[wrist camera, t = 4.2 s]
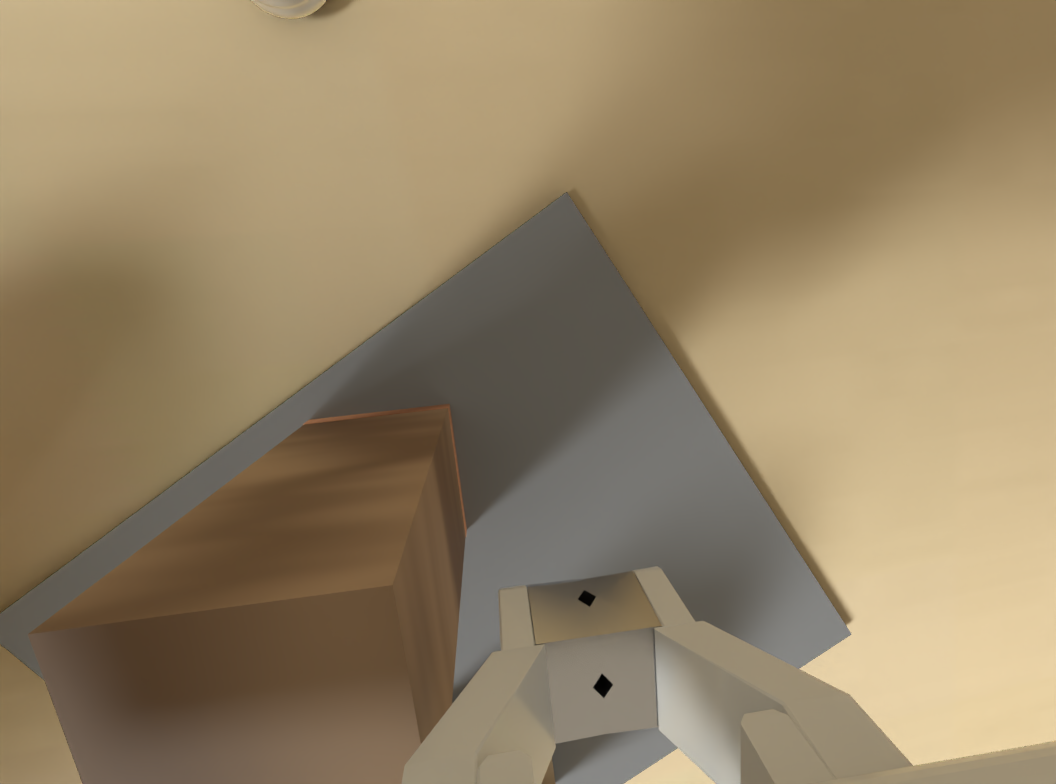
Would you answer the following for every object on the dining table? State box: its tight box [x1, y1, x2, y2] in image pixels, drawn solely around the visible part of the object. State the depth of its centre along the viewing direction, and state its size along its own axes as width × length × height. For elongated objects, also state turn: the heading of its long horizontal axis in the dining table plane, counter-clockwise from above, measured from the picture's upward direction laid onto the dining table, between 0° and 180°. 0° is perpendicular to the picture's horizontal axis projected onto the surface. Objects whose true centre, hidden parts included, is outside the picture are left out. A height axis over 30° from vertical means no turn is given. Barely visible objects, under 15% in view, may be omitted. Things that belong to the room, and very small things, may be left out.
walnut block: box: [28, 404, 467, 784], centre depth 12 cm, size 4×4×10 cm
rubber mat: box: [0, 192, 851, 784], centre depth 18 cm, size 24×20×1 cm
